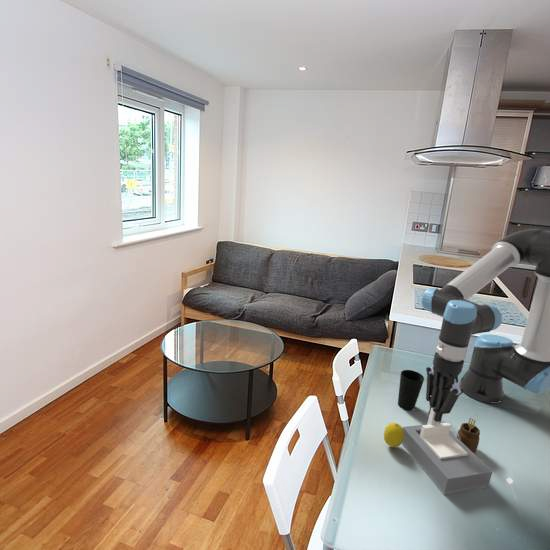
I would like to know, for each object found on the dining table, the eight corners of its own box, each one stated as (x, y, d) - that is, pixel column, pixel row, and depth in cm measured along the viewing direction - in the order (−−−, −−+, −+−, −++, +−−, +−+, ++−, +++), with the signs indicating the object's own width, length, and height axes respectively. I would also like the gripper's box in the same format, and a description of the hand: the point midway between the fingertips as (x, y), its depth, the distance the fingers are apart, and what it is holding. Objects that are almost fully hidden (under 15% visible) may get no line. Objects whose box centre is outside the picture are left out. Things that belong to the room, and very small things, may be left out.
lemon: (401, 443, 115) (406, 420, 113) (400, 455, 110) (405, 432, 108) (382, 438, 116) (386, 415, 114) (381, 449, 111) (385, 426, 109)
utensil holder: (477, 447, 116) (487, 413, 113) (473, 458, 111) (483, 423, 108) (457, 438, 120) (465, 405, 116) (452, 448, 115) (461, 414, 111)
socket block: (438, 436, 120) (441, 422, 118) (487, 487, 101) (492, 471, 100) (399, 440, 116) (402, 426, 114) (443, 494, 97) (448, 478, 96)
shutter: (445, 433, 113) (448, 422, 112) (467, 455, 105) (470, 443, 104) (419, 436, 111) (422, 425, 110) (440, 459, 102) (443, 447, 101)
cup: (418, 414, 130) (426, 383, 127) (395, 409, 131) (402, 379, 128) (415, 401, 137) (422, 372, 134) (393, 397, 138) (399, 368, 135)
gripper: (423, 345, 111) (408, 415, 117) (454, 368, 99) (435, 444, 105) (445, 344, 113) (428, 413, 119) (478, 367, 101) (458, 442, 107)
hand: (432, 427), depth 112 cm, fingers closed
